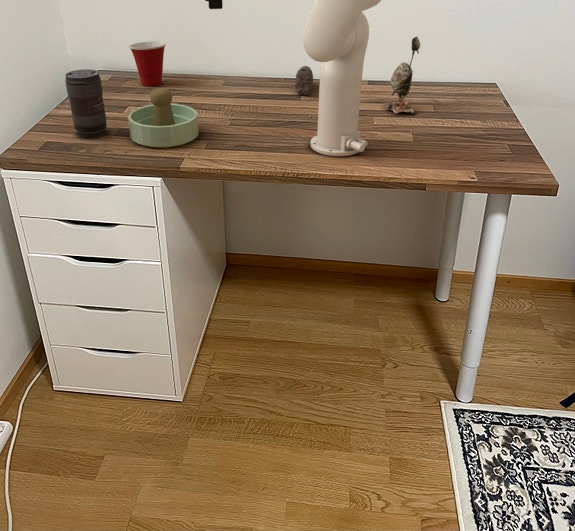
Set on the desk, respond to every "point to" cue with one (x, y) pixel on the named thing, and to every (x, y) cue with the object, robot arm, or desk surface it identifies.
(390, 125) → the desk surface
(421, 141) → the desk surface
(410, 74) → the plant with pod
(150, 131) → the bowl
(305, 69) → the perforated stone tool
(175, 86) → the desk surface
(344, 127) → the robot arm
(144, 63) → the plastic cup
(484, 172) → the desk surface
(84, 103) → the camera lens
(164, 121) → the tan pawn
